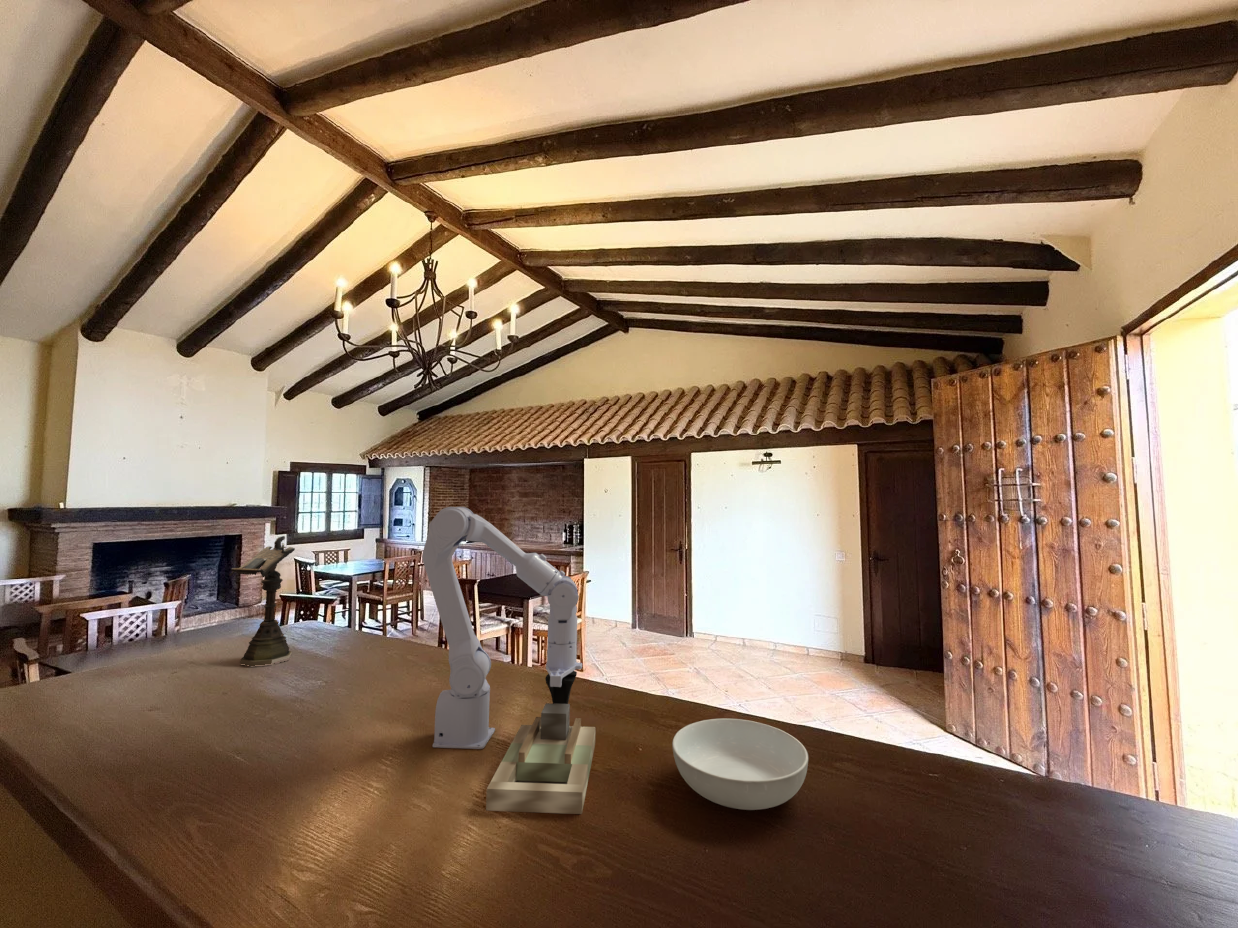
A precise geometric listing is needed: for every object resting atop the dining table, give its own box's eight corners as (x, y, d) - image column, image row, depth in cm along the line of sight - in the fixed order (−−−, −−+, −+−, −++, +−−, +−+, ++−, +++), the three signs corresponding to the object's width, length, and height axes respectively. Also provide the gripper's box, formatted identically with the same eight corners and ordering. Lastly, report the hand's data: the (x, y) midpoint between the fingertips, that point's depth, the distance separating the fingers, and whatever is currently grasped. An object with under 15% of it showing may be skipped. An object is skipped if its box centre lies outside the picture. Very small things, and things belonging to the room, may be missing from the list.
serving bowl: (668, 756, 91) (668, 716, 92) (786, 759, 91) (785, 719, 91) (677, 829, 71) (677, 777, 71) (830, 834, 70) (829, 781, 71)
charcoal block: (540, 739, 91) (541, 712, 91) (545, 728, 95) (545, 703, 95) (565, 739, 90) (566, 713, 91) (569, 728, 95) (569, 703, 95)
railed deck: (486, 810, 74) (487, 777, 75) (521, 741, 96) (521, 716, 97) (581, 813, 74) (582, 781, 74) (595, 743, 96) (595, 718, 96)
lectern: (245, 675, 131) (255, 537, 133) (211, 669, 135) (221, 536, 138) (305, 657, 146) (312, 534, 149) (272, 652, 150) (280, 533, 153)
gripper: (578, 651, 93) (576, 729, 92) (586, 631, 107) (585, 698, 106) (539, 650, 93) (537, 728, 92) (552, 631, 107) (551, 697, 106)
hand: (560, 712), depth 99 cm, fingers closed
